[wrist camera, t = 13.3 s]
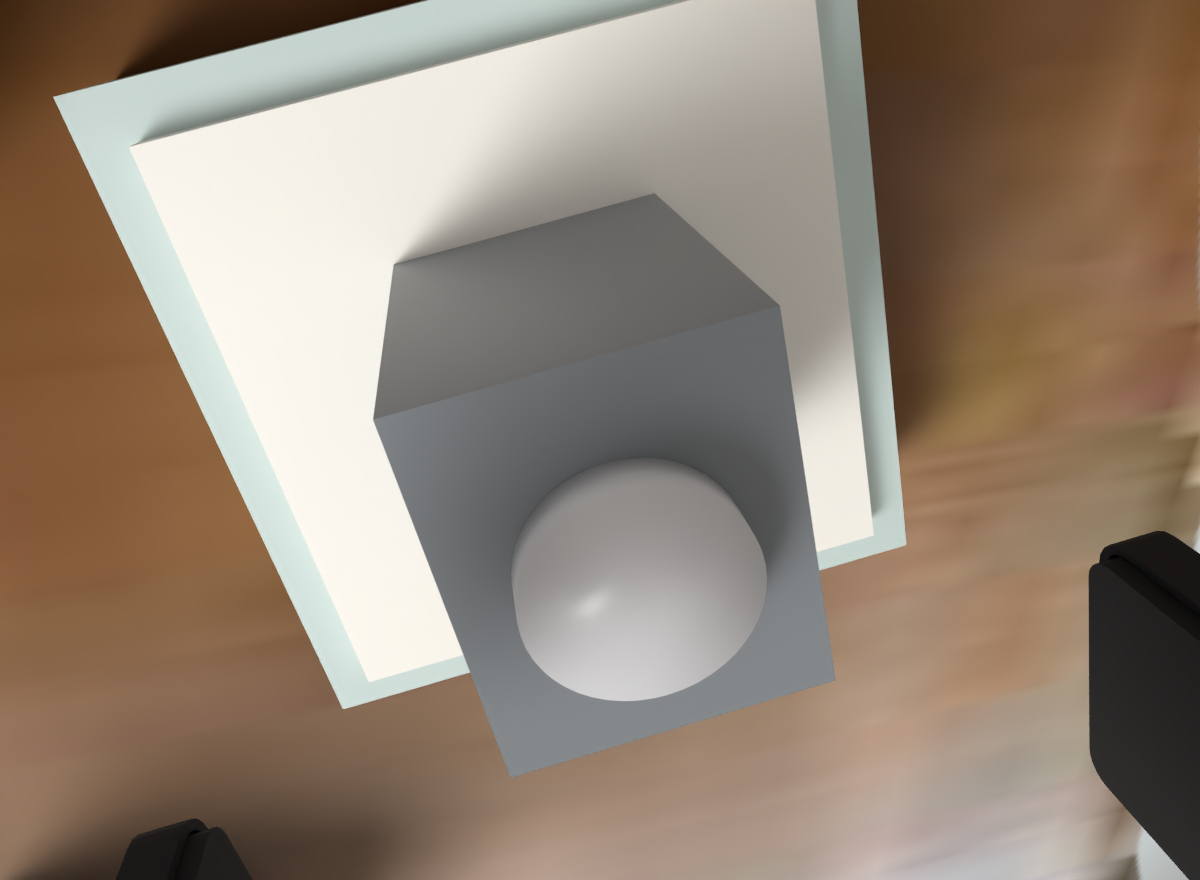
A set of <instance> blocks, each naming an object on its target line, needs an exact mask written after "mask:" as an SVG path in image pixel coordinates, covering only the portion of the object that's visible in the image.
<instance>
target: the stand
mask: <svg viewBox="0 0 1200 880" xmlns="http://www.w3.org/2000/svg"><path fill="white" fill-rule="evenodd" d="M53 98H54V100H55V102H56V104H57V106H58V108H59V110H60V112H61V114H62V117H63V119H64V121H65V123H66V125H67V127H68V129H69V131H70V133H71V136H72V138H73V140H74V142H75V144H76V146H77V148H78V150H79V152H80V155H81V157H82V159H83V161H84V163H85V165H86V167H87V169H88V171H89V174H90V176H91V178H92V180H93V182H94V184H95V186H96V188H97V190H98V193H99V195H100V197H101V199H102V201H103V203H104V205H105V207H106V209H107V212H108V214H109V216H110V218H111V220H112V222H113V224H114V226H115V229H116V231H117V233H118V235H119V237H120V239H121V241H122V243H123V245H124V248H125V250H126V252H127V254H128V256H129V258H130V260H131V262H132V264H133V267H134V269H135V271H136V273H137V275H138V277H139V279H140V281H141V283H142V286H143V288H144V290H145V292H146V294H147V296H148V298H149V300H150V302H151V305H152V307H153V309H154V311H155V313H156V315H157V317H158V319H159V321H160V324H161V326H162V328H163V330H164V332H165V334H166V336H167V338H168V340H169V343H170V345H171V347H172V349H173V351H174V353H175V355H176V357H177V359H178V362H179V364H180V366H181V368H182V370H183V372H184V374H185V376H186V378H187V381H188V383H189V385H190V387H191V389H192V391H193V393H194V395H195V398H196V400H197V402H198V404H199V406H200V408H201V410H202V412H203V414H204V417H205V419H206V421H207V423H208V425H209V427H210V429H211V431H212V433H213V436H214V438H215V440H216V442H217V444H218V446H219V448H220V450H221V452H222V455H223V457H224V459H225V461H226V463H227V465H228V467H229V469H230V471H231V474H232V476H233V478H234V480H235V482H236V484H237V486H238V488H239V490H240V493H241V495H242V497H243V499H244V501H245V503H246V505H247V507H248V509H249V512H250V514H251V516H252V518H253V520H254V522H255V524H256V526H257V528H258V531H259V533H260V535H261V537H262V539H263V541H264V543H265V545H266V547H267V550H268V552H269V554H270V556H271V558H272V560H273V562H274V564H275V567H276V569H277V571H278V573H279V575H280V577H281V579H282V581H283V583H284V586H285V588H286V590H287V592H288V594H289V596H290V598H291V600H292V602H293V605H294V607H295V609H296V611H297V613H298V615H299V617H300V619H301V621H302V624H303V626H304V628H305V630H306V632H307V634H308V636H309V638H310V640H311V643H312V645H313V647H314V649H315V651H316V653H317V655H318V657H319V659H320V662H321V664H322V666H323V668H324V670H325V672H326V674H327V676H328V678H329V681H330V683H331V685H332V687H333V689H334V691H335V693H336V695H337V697H338V700H339V702H340V704H341V706H342V708H343V709H346V708H349V707H353V706H356V705H360V704H363V703H367V702H370V701H373V700H377V699H380V698H384V697H387V696H391V695H394V694H397V693H401V692H404V691H408V690H411V689H415V688H418V687H421V686H425V685H428V684H432V683H435V682H439V681H442V680H445V679H449V678H452V677H456V676H459V675H463V674H466V673H469V672H470V671H469V668H468V666H467V663H466V660H465V658H464V655H463V653H462V650H461V647H460V645H459V642H458V640H457V637H456V634H455V632H454V629H453V627H452V624H451V621H450V619H449V616H448V614H447V611H446V608H445V606H444V603H443V601H442V598H441V595H440V593H439V590H438V588H437V585H436V582H435V580H434V577H433V575H432V572H431V569H430V567H429V564H428V562H427V559H426V556H425V554H424V551H423V549H422V546H421V543H420V541H419V538H418V536H417V533H416V530H415V528H414V525H413V523H412V520H411V517H410V515H409V512H408V510H407V507H406V504H405V502H404V499H403V497H402V494H401V491H400V489H399V486H398V484H397V481H396V478H395V476H394V473H393V471H392V468H391V465H390V463H389V460H388V458H387V455H386V452H385V450H384V447H383V445H382V442H381V439H380V437H379V434H378V432H377V429H376V426H375V424H374V421H373V416H374V408H375V401H376V393H377V386H378V378H379V371H380V363H381V356H382V348H383V341H384V333H385V326H386V318H387V311H388V303H389V295H390V288H391V280H392V273H393V265H394V264H398V263H401V262H405V261H409V260H412V259H416V258H419V257H423V256H427V255H430V254H434V253H438V252H441V251H445V250H449V249H452V248H456V247H460V246H463V245H467V244H471V243H474V242H478V241H482V240H485V239H489V238H493V237H496V236H500V235H504V234H507V233H511V232H514V231H518V230H522V229H525V228H529V227H533V226H536V225H540V224H544V223H547V222H551V221H555V220H558V219H562V218H566V217H569V216H573V215H577V214H580V213H584V212H588V211H591V210H595V209H599V208H602V207H606V206H609V205H613V204H617V203H620V202H624V201H628V200H631V199H635V198H639V197H642V196H646V195H650V194H653V193H655V194H656V195H657V196H658V197H659V198H661V199H662V200H663V201H664V202H665V203H666V204H667V205H668V206H669V207H671V208H672V209H673V210H674V211H675V212H676V213H677V214H678V215H679V216H681V217H682V218H683V219H684V220H685V221H686V222H687V223H688V224H690V225H691V226H692V227H693V228H694V229H695V230H696V231H697V232H698V233H700V234H701V235H702V236H703V237H704V238H705V239H706V240H707V241H708V242H710V243H711V244H712V245H713V246H714V247H715V248H716V249H717V250H719V251H720V252H721V253H722V254H723V255H724V256H725V257H726V258H727V259H729V260H730V261H731V262H732V263H733V264H734V265H735V266H736V267H737V268H739V269H740V270H741V271H742V272H743V273H744V274H745V275H746V276H748V277H749V278H750V279H751V280H752V281H753V282H754V283H755V284H756V285H758V286H759V287H760V288H761V289H762V290H763V291H764V292H765V293H766V294H768V295H769V296H770V297H771V298H772V299H773V300H774V301H775V302H777V303H778V304H779V305H780V310H781V316H782V323H783V330H784V337H785V343H786V350H787V357H788V364H789V370H790V377H791V384H792V390H793V397H794V404H795V411H796V417H797V424H798V431H799V438H800V444H801V451H802V458H803V464H804V471H805V478H806V485H807V491H808V498H809V505H810V512H811V518H812V525H813V532H814V538H815V545H816V552H817V559H818V565H819V570H822V569H826V568H829V567H833V566H836V565H840V564H843V563H846V562H850V561H853V560H857V559H860V558H864V557H867V556H870V555H874V554H877V553H881V552H884V551H888V550H891V549H894V548H898V547H901V546H905V545H906V535H905V524H904V513H903V502H902V491H901V480H900V469H899V458H898V447H897V436H896V425H895V414H894V403H893V392H892V381H891V370H890V359H889V348H888V337H887V326H886V315H885V304H884V293H883V282H882V271H881V260H880V249H879V238H878V227H877V216H876V205H875V194H874V183H873V172H872V161H871V150H870V139H869V128H868V117H867V106H866V95H865V84H864V73H863V62H862V51H861V40H860V29H859V18H858V7H857V0H422V1H419V2H415V3H411V4H407V5H403V6H399V7H395V8H391V9H388V10H384V11H380V12H376V13H372V14H368V15H364V16H360V17H356V18H353V19H349V20H345V21H341V22H337V23H333V24H329V25H325V26H322V27H318V28H314V29H310V30H306V31H302V32H298V33H294V34H291V35H287V36H283V37H279V38H275V39H271V40H267V41H263V42H260V43H256V44H252V45H248V46H244V47H240V48H236V49H232V50H228V51H225V52H221V53H217V54H213V55H209V56H205V57H201V58H197V59H194V60H190V61H186V62H182V63H178V64H174V65H170V66H166V67H163V68H159V69H155V70H151V71H147V72H143V73H139V74H135V75H132V76H128V77H124V78H120V79H116V80H112V81H109V82H105V83H102V84H98V85H94V86H91V87H87V88H84V89H80V90H77V91H73V92H69V93H66V94H62V95H59V96H55V97H53Z"/></svg>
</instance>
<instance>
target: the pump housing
mask: <svg viewBox="0 0 1200 880" xmlns="http://www.w3.org/2000/svg"><path fill="white" fill-rule="evenodd" d="M373 421H374V424H375V426H376V429H377V432H378V434H379V437H380V439H381V442H382V445H383V447H384V450H385V452H386V455H387V458H388V460H389V463H390V465H391V468H392V471H393V473H394V476H395V478H396V481H397V484H398V486H399V489H400V491H401V494H402V497H403V499H404V502H405V504H406V507H407V510H408V512H409V515H410V517H411V520H412V523H413V525H414V528H415V530H416V533H417V536H418V538H419V541H420V543H421V546H422V549H423V551H424V554H425V556H426V559H427V562H428V564H429V567H430V569H431V572H432V575H433V577H434V580H435V582H436V585H437V588H438V590H439V593H440V595H441V598H442V601H443V603H444V606H445V608H446V611H447V614H448V616H449V619H450V621H451V624H452V627H453V629H454V632H455V634H456V637H457V640H458V642H459V645H460V647H461V650H462V653H463V655H464V658H465V660H466V663H467V666H468V668H469V671H470V673H471V676H472V679H473V681H474V684H475V686H476V689H477V692H478V694H479V697H480V699H481V702H482V705H483V707H484V710H485V713H486V715H487V718H488V720H489V723H490V726H491V728H492V731H493V733H494V736H495V739H496V741H497V744H498V746H499V749H500V752H501V754H502V757H503V759H504V762H505V765H506V767H507V770H508V772H509V775H510V778H512V777H515V776H518V775H522V774H525V773H528V772H532V771H535V770H538V769H542V768H545V767H548V766H552V765H555V764H558V763H562V762H565V761H568V760H572V759H575V758H578V757H582V756H585V755H588V754H592V753H595V752H598V751H602V750H605V749H608V748H612V747H615V746H618V745H622V744H625V743H628V742H632V741H635V740H638V739H642V738H645V737H648V736H652V735H655V734H658V733H662V732H665V731H668V730H672V729H675V728H678V727H682V726H685V725H688V724H692V723H695V722H698V721H702V720H705V719H708V718H712V717H715V716H718V715H722V714H725V713H728V712H732V711H735V710H738V709H742V708H745V707H748V706H752V705H755V704H758V703H762V702H765V701H768V700H772V699H775V698H778V697H782V696H785V695H788V694H792V693H795V692H798V691H802V690H805V689H808V688H812V687H815V686H818V685H822V684H825V683H828V682H832V681H835V673H834V666H833V660H832V653H831V646H830V639H829V633H828V626H827V619H826V612H825V606H824V599H823V592H822V586H821V579H820V572H819V565H818V559H817V552H816V545H815V538H814V532H813V525H812V518H811V512H810V505H809V498H808V491H807V485H806V478H805V471H804V464H803V458H802V451H801V444H800V438H799V431H798V424H797V417H796V411H795V404H794V397H793V390H792V384H791V377H790V370H789V364H788V357H787V350H786V343H785V337H784V330H783V323H782V316H781V310H780V305H779V304H778V303H777V302H775V301H774V300H773V299H772V298H771V297H770V296H769V295H768V294H766V293H765V292H764V291H763V290H762V289H761V288H760V287H759V286H758V285H756V284H755V283H754V282H753V281H752V280H751V279H750V278H749V277H748V276H746V275H745V274H744V273H743V272H742V271H741V270H740V269H739V268H737V267H736V266H735V265H734V264H733V263H732V262H731V261H730V260H729V259H727V258H726V257H725V256H724V255H723V254H722V253H721V252H720V251H719V250H717V249H716V248H715V247H714V246H713V245H712V244H711V243H710V242H708V241H707V240H706V239H705V238H704V237H703V236H702V235H701V234H700V233H698V232H697V231H696V230H695V229H694V228H693V227H692V226H691V225H690V224H688V223H687V222H686V221H685V220H684V219H683V218H682V217H681V216H679V215H678V214H677V213H676V212H675V211H674V210H673V209H672V208H671V207H669V206H668V205H667V204H666V203H665V202H664V201H663V200H662V199H661V198H659V197H658V196H657V195H656V194H655V193H653V194H650V195H646V196H642V197H639V198H635V199H631V200H628V201H624V202H620V203H617V204H613V205H609V206H606V207H602V208H599V209H595V210H591V211H588V212H584V213H580V214H577V215H573V216H569V217H566V218H562V219H558V220H555V221H551V222H547V223H544V224H540V225H536V226H533V227H529V228H525V229H522V230H518V231H514V232H511V233H507V234H504V235H500V236H496V237H493V238H489V239H485V240H482V241H478V242H474V243H471V244H467V245H463V246H460V247H456V248H452V249H449V250H445V251H441V252H438V253H434V254H430V255H427V256H423V257H419V258H416V259H412V260H409V261H405V262H401V263H398V264H394V265H393V273H392V280H391V288H390V295H389V303H388V311H387V318H386V326H385V333H384V341H383V348H382V356H381V363H380V371H379V378H378V386H377V393H376V401H375V408H374V416H373Z"/></svg>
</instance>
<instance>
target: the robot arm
mask: <svg viewBox="0 0 1200 880" xmlns="http://www.w3.org/2000/svg"><path fill="white" fill-rule="evenodd" d="M1089 729H1090V755H1091V758H1092V762H1093V764H1094V767H1095V769H1096V771H1097V773H1098V775H1099V776H1100V778H1101V780H1102V781H1103V782H1104V784H1105V785H1106V786H1107V787H1108V788H1109V790H1110V791H1111V792H1112V793H1113V794H1114V795H1115V796H1116V798H1117V799H1118V800H1119V801H1120V802H1121V803H1122V804H1123V805H1124V807H1125V808H1126V809H1127V810H1128V811H1129V812H1130V813H1131V814H1132V816H1133V817H1134V818H1135V819H1136V820H1137V821H1138V822H1139V824H1140V825H1141V826H1142V827H1143V828H1144V829H1145V830H1146V831H1147V833H1148V834H1149V835H1150V836H1151V837H1152V838H1153V839H1154V840H1155V841H1156V843H1158V845H1159V846H1160V847H1161V848H1162V849H1163V851H1164V852H1165V853H1166V854H1167V855H1168V856H1169V857H1170V859H1171V860H1172V861H1173V862H1174V863H1175V864H1176V865H1177V866H1178V868H1179V869H1180V870H1181V871H1182V872H1183V873H1184V874H1185V875H1186V877H1187V878H1188V879H1189V880H1200V554H1199V553H1198V552H1196V551H1195V550H1193V549H1192V548H1190V547H1189V546H1188V545H1186V544H1185V543H1183V542H1182V541H1180V540H1179V539H1177V538H1176V537H1174V536H1173V535H1171V534H1169V533H1167V532H1164V531H1155V532H1151V533H1148V534H1145V535H1141V536H1138V537H1135V538H1131V539H1128V540H1125V541H1121V542H1118V543H1115V544H1111V545H1109V546H1107V547H1105V548H1104V549H1103V551H1102V552H1101V554H1100V561H1099V563H1097V564H1095V565H1093V566H1092V567H1091V569H1090V571H1089ZM116 880H252V878H251V877H250V875H249V873H248V871H247V870H246V868H245V866H244V864H243V863H242V861H241V859H240V857H239V856H238V854H237V852H236V850H235V849H234V847H233V845H232V843H231V842H230V840H229V838H228V836H227V835H226V833H225V832H224V831H223V830H222V829H221V828H219V827H215V828H211V829H208V828H207V827H206V826H205V825H204V823H203V822H201V821H200V820H198V819H190V820H186V821H183V822H180V823H176V824H173V825H169V826H166V827H163V828H159V829H156V830H153V831H149V832H146V833H143V834H139V835H138V836H136V837H135V838H134V839H133V840H132V841H131V843H130V845H129V847H128V849H127V852H126V854H125V857H124V860H123V862H122V865H121V868H120V870H119V873H118V876H117V878H116Z"/></svg>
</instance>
